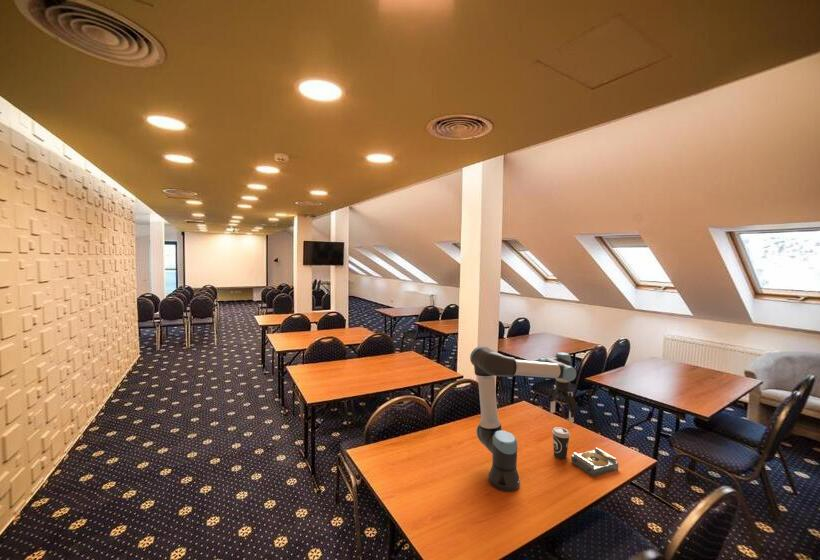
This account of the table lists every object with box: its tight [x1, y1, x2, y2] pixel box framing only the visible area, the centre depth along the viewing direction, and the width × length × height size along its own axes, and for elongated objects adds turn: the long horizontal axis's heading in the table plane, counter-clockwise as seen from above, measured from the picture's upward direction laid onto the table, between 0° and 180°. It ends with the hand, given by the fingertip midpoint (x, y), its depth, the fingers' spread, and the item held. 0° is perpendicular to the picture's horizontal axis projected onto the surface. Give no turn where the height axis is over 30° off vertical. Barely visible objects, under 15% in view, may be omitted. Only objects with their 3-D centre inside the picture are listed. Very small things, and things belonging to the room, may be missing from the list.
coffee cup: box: [551, 426, 571, 460], centre depth 195 cm, size 10×10×15 cm
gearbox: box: [570, 447, 619, 478], centre depth 185 cm, size 19×14×6 cm
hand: (561, 417), depth 194 cm, fingers open, 13 cm apart
